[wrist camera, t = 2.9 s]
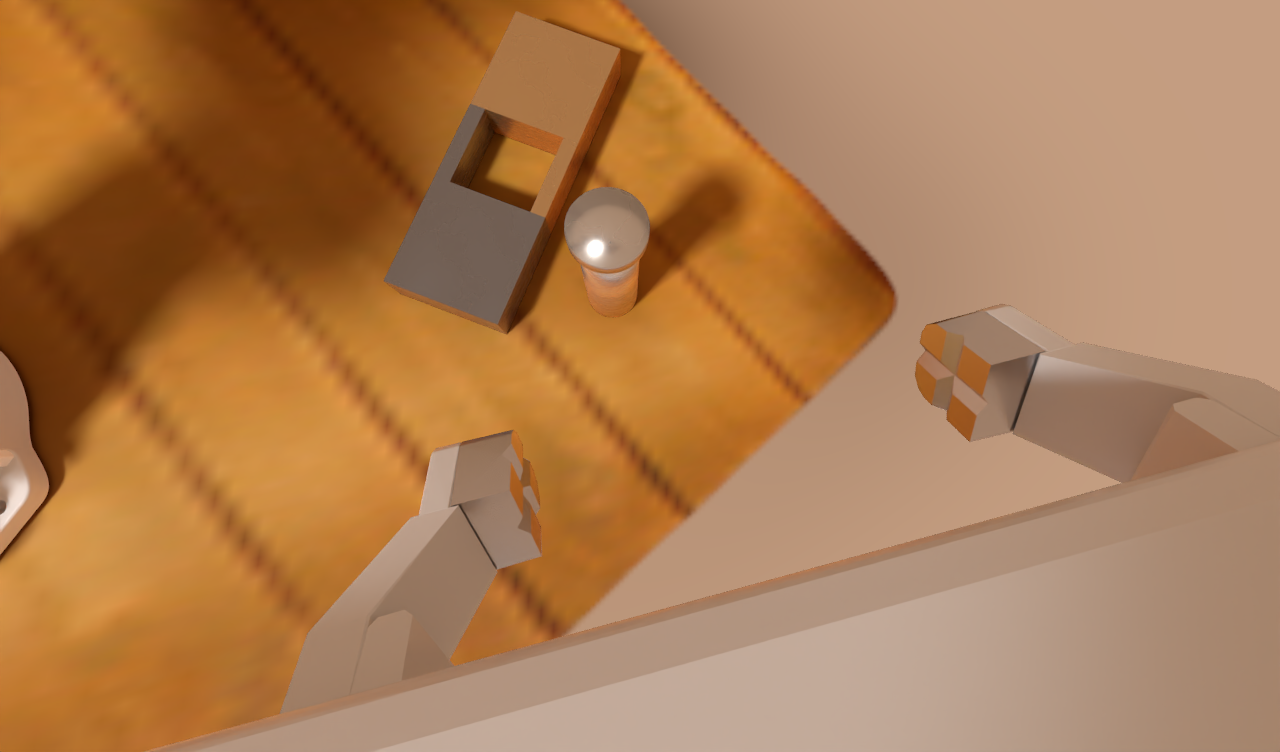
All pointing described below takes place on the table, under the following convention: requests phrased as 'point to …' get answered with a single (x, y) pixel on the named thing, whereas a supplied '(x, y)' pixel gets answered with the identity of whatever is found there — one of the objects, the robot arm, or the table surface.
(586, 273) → the metal peg
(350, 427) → the table surface
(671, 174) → the table surface
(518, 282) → the two-tone slotted plate
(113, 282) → the table surface
